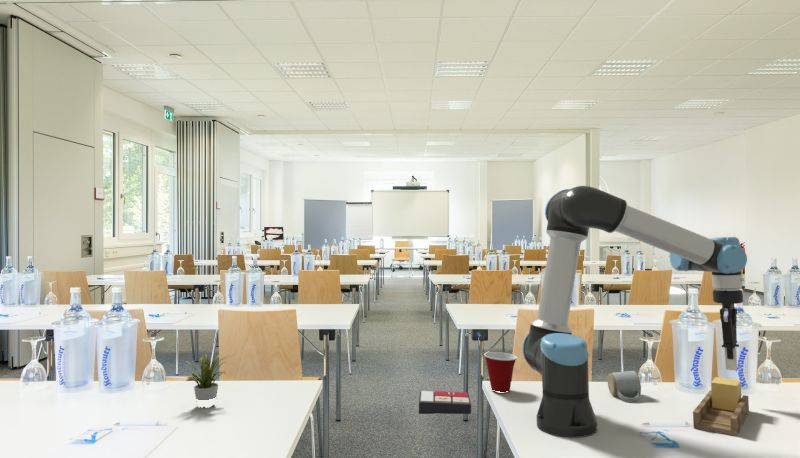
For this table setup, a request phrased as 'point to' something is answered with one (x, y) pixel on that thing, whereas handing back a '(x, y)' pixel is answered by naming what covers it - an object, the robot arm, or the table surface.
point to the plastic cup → (500, 370)
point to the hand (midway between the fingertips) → (731, 369)
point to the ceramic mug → (625, 385)
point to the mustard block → (725, 393)
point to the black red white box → (444, 402)
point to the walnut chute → (720, 416)
